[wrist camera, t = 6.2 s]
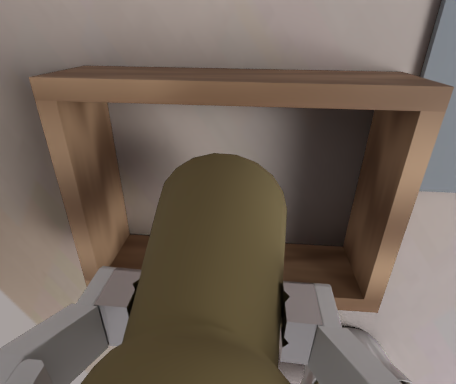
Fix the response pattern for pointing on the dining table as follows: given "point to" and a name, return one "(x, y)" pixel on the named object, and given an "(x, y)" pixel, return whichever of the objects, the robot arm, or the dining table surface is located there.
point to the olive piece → (207, 282)
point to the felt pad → (452, 122)
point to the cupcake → (374, 347)
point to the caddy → (259, 97)
